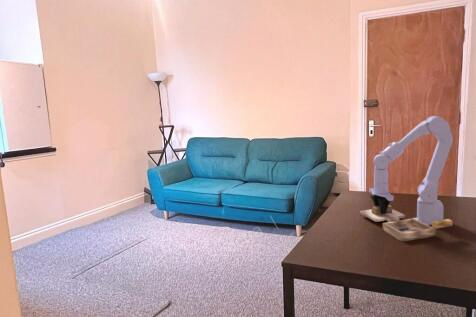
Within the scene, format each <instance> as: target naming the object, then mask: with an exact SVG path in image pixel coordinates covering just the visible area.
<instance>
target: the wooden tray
mask: <svg viewBox="0 0 476 317" xmlns="http://www.w3.org/2000/svg"><path fill="white" fill-rule="evenodd" d="M414 218H415V217H412V218H407V219H399V221H393V222H389V221H386V222H383V223H382V231H384V232H385V233H387V234H388V235H390V236H392V237H394V238H395V239H397V240H398V241H401V242H408V241H414V240H420V239H427V238H433V237H436V228H434V227H432V225H431V226H430V225H427V224H424V223H422V222H420V221H418V220H416V219H414Z"/></svg>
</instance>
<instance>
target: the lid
mask: <svg viewBox="0 0 476 317" xmlns="http://www.w3.org/2000/svg"><path fill="white" fill-rule="evenodd" d="M359 214H362V215H363V216H364V217H366V218H368V219H369V220H372V221H374V222H375V223H377V222H384V221H386V222H393V221H399V220H400V219H402V218H406V215H405V213H401V212H400V211H397V210H396V209H393V206H392V205H391V204H389V205H388V208H387V211H386V214H381V212H380V206H375V205H374V206H371V209H365V210H360V211H359Z"/></svg>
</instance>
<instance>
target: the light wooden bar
mask: <svg viewBox="0 0 476 317" xmlns="http://www.w3.org/2000/svg"><path fill="white" fill-rule="evenodd" d="M431 227H433V228H435V229H441V228H442V229H443V228H447V227H448V228H449V227H453V220H452V219H450V218H445V219H443V220H438V221H432V225H431Z"/></svg>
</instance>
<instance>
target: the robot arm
mask: <svg viewBox="0 0 476 317" xmlns="http://www.w3.org/2000/svg"><path fill="white" fill-rule="evenodd" d="M450 127H451V126H450V124H449V123H448V122H447V121H446V119H444V118H443V117H440V116H438V115H430V116H428V117H427V118H426V119H425V120H424V119H423V121H421V122H420V123H418V124H417V125H416V126H415V127H414V128H412V130H410V131H409V132H408V133H407V134H406V135H404V137H402V139H400V140H399V141H394V142H392V143H391V142H389V143H388V146H387V147H386V148H384V150H380V151H379V154H377V155H375V156H374V158H373V159H372V160H373V165H374V168H373V170H374V171H373V187H369V190H368V191H369V193H371V195H370V198H371V199H372V203H373V205H374V206H380V212H381V214H386V211H387V208H388V205H390V203H391V202H393V201H394V200H395V199H394V198H395V196H394V195H392V194H391V193H390V192H389V171H388V167H389V166H390V163H392V162H393V161H395V160H396V159H397V158H399V156H401V155H402V154H403V153H405V147H407V146H408V145H410V144H412V142H414V141H415V140H417V139H418V138H419V137H420V136H424V135H430V134H431V133H432V134H433V135H434V137H435V139H436V140H437V143H436V146H435V149H434V151H433V154H432V157H431V160H430V163H429V165H428V169H427V172H426V174H425V177H424V178H423V179H422V182H421V183H420V184H419V185H418V186H417V189H416V190H417V194H418V198H417V200H416V201H417V202H416V217H413V218H414V219H416V220H418V221H420V222H422V223H424V224H427V225H429V226H430V225H431V226H432V221H438V220H444V204H443V202H442V201H441V200H439V199H438V198H439V197H438V191H439V190H438V189H439V182H440V178H441V176H442V172H443V170H444V166H445V164H446V161H447V159H448V156H449V153H450V150H451V148H452V145H453V142H454V137H453V133H452V131H451V128H450Z"/></svg>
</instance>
